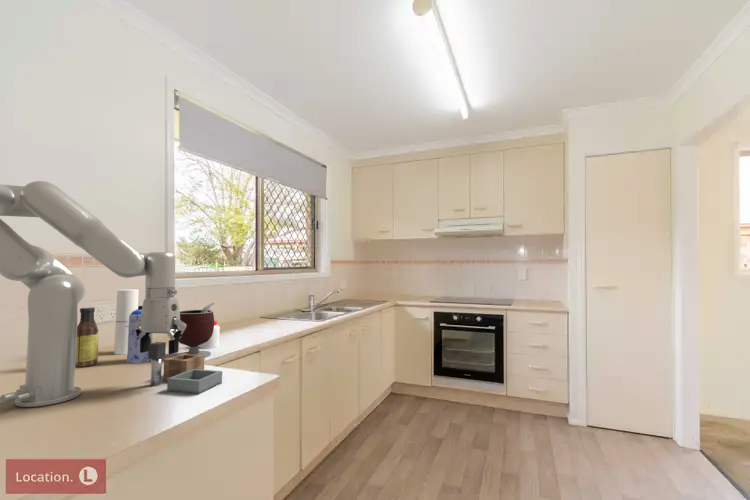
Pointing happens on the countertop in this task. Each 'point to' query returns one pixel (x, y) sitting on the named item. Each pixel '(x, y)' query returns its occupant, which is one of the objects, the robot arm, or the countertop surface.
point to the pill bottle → (212, 338)
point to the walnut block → (182, 364)
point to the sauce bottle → (87, 339)
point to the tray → (194, 381)
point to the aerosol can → (135, 340)
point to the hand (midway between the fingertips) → (159, 352)
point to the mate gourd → (197, 329)
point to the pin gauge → (156, 361)
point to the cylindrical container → (124, 318)
